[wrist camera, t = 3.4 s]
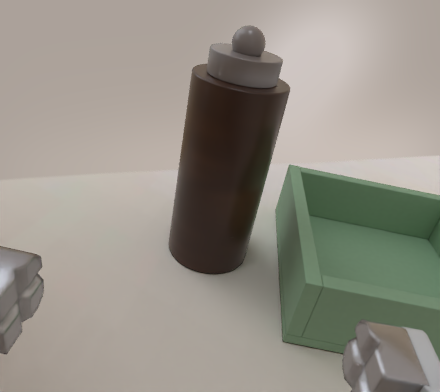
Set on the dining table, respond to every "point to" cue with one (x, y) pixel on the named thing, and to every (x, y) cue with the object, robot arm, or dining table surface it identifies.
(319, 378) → the dining table surface
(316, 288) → the tray
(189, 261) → the pepper mill
